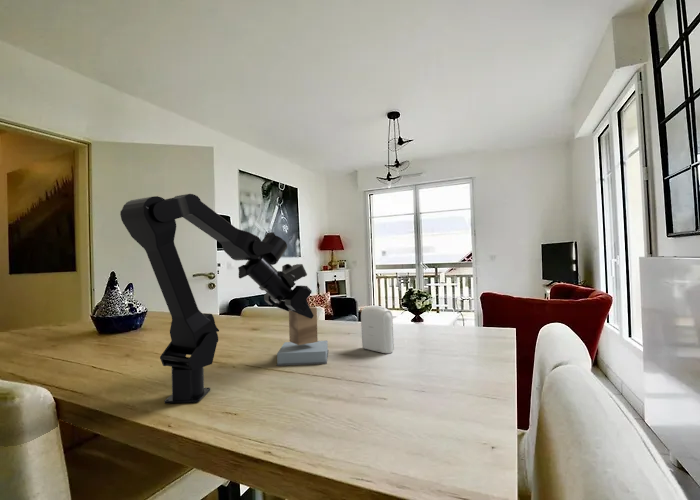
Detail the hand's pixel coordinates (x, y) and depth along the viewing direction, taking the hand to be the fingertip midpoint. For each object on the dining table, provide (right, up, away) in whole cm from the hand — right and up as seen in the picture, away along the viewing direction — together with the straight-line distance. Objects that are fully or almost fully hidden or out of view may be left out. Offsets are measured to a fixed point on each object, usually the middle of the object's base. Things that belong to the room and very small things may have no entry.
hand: (307, 315), depth 97 cm
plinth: (-1, -11, -1) cm, 11 cm away
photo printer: (+19, -11, +5) cm, 22 cm away
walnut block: (-1, -7, -1) cm, 7 cm away
